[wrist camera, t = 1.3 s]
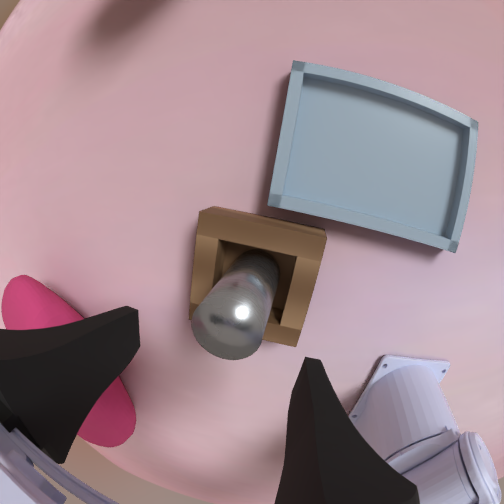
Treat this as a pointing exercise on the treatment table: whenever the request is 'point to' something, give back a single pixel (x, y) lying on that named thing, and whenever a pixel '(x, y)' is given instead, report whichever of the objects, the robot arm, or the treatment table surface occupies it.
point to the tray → (374, 156)
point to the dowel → (238, 307)
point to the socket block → (267, 239)
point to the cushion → (55, 314)
